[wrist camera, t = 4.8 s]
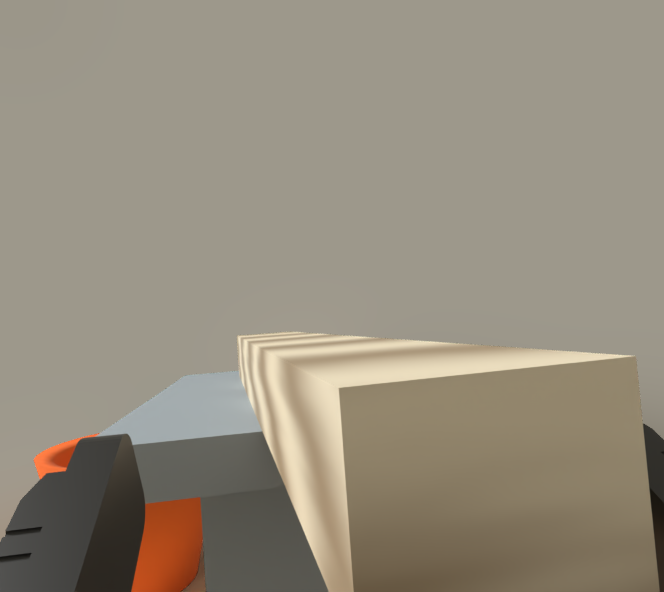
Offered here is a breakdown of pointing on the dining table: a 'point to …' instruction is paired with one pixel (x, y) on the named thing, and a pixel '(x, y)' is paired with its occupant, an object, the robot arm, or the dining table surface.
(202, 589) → the dining table surface
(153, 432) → the stand
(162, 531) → the flowerpot
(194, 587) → the dining table surface
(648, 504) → the ash bar
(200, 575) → the dining table surface
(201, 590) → the dining table surface
